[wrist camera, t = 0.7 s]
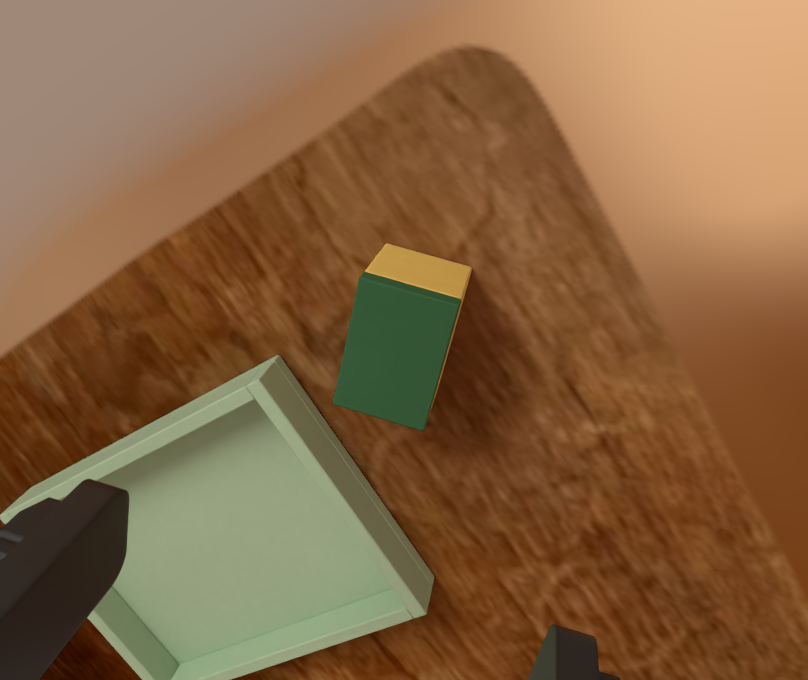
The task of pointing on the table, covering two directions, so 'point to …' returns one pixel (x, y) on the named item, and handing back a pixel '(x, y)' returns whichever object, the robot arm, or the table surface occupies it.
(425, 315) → the sponge
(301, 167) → the table surface
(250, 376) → the tray
